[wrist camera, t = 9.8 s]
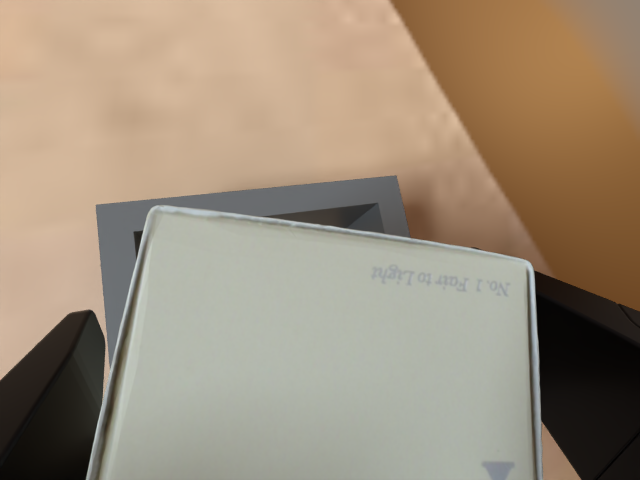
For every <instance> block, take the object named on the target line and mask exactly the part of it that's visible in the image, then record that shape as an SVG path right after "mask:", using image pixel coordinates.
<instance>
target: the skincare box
mask: <svg viewBox="0 0 640 480" xmlns="http://www.w3.org/2000/svg"><path fill="white" fill-rule="evenodd" d="M539 383H540V376H539V346H538V334H537V312H536V294H535V274H534V268H533V266H532V264H531V263H530V262H529V261H528V260H525V259H521V258H517V257H513V256H508V255H503V254H499V253H494V252H487V251H482V250H478V249H473V248H469V247H462V246H456V245H450V244H444V243H439V242H433V241H426V240H420V239H414V238H408V237H402V236H395V235H389V234H383V233H376V232H369V231H360V230H354V229H347V228H339V227H334V226H326V225H320V224H312V223H304V222H296V221H289V220H283V219H277V218H268V217H259V216H251V215H242V214H236V213H227V212H220V211H214V210H207V209H195V208H187V207H176V206H169V205H157V206H154V207H152V208H151V210H150V211H149V213H148V215H147V218H146V222H145V226H144V230H143V234H142V239H141V243H140V248H139V252H138V257H137V261H136V265H135V268H134V272H133V276H132V279H131V284H130V288H129V292H128V297H127V301H126V305H125V309H124V313H123V317H122V321H121V325H120V329H119V334H118V339H117V343H116V348H115V352H114V356H113V360H112V365H111V369H110V373H109V378H108V382H107V387H106V391H105V395H104V399H103V403H102V407H101V411H100V416H99V420H98V424H97V429H96V433H95V438H94V443H93V448H92V453H91V457H90V462H89V467H88V472H87V477H86V480H543V466H542V441H541V438H542V424H541V404H540V384H539Z"/></svg>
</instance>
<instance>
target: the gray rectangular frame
mask: <svg viewBox="0 0 640 480" xmlns="http://www.w3.org/2000/svg"><path fill="white" fill-rule="evenodd" d="M157 205H169V206H176V207H187V208H195V209H207V210H214V211H220V212H227V213H236V214H242V215H251V216H259V217H268V218H277V219H283V220H289V221H296V222H304V223H312V224H320V225H326V226H334V227H339V228H347V229H354V230H360V231H369V232H376V233H383V234H389V235H395V236H402V237H408V238H411V237H410V233H409V228H408V224H407V220H406V215H405V211H404V207H403V202H402V198H401V194H400V189H399V185H398V180H397V176H386V177H376V178H365V179H355V180H345V181H335V182H324V183H314V184H304V185H294V186H283V187H273V188H263V189H253V190H243V191H232V192H222V193H212V194H202V195H191V196H181V197H171V198H161V199H150V200H140V201H130V202H120V203H109V204H99V205H96V214H97V226H98V237H99V249H100V260H101V272H102V283H103V295H104V306H105V318H106V329H107V341H108V352H109V364H110V369H111V365H112V360H113V356H114V352H115V348H116V343H117V339H118V334H119V329H120V325H121V321H122V317H123V313H124V309H125V305H126V301H127V297H128V292H129V288H130V284H131V279H132V276H133V272H134V268H135V265H136V261H137V257H138V252H139V248H140V243H141V239H142V234H143V230H144V226H145V222H146V218H147V215H148V213H149V211H150V210H151V208H152V207H154V206H157Z"/></svg>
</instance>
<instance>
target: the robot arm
mask: <svg viewBox="0 0 640 480" xmlns="http://www.w3.org/2000/svg"><path fill="white" fill-rule="evenodd" d="M471 248H473V249H478V248H475V247H471ZM478 250H481V249H478ZM482 251H483V250H482ZM534 274H535V294H536V312H537V334H538V346H539V376H540V383H539V384H540V404H541V421H542V422H543V424H544V425H545V427H546V428H547V430H548V431H549V433H550V434H551V436H552V437H553V438H554V440H555V441H556V443H557V444H558V446H559V447H560V449H561V450H562V452H563V453H564V455H565V456H566V458H567V459H568V461H569V462H570V464H571V465H572V467H573V468H574V469H575V471H576V472H577V474H578V475H579V477H580V478H581V480H640V312H639V311H637V310H634V309H631V308H629V307H626V306H624V305H621V304H616V303H615V302H613V301H611V300H608V299H606V298H603V297H600V296H597V295H595V294H593V293H590V292H588V291H585V290H583V289H580V288H577V287H575V286H572V285H570V284H567V283H565V282H562V281H560V280H557V279H555V278H552V277H550V276H547V275H544V274H542V273H539V272H537V271H534ZM104 362H105V338H104V335H103V332H102V330H101V327H100V325H99V322H98V320H97V318H96V315H95V313H94V312H93V311H92V310H84V311H77V312H72V313H70V314H68V315H67V316H66V317H65V318H64V319H63V320H62V321H61V322H60V323H59V324H58V325H57V326H55V327H54V328H53V329H52V330H51V331H50V332H49V333H48V334H47V335H46V336H45V337H44V338H43V339H42V340H41V341H40V342H39V343H38V344H37V345H36V346H35V347H34V348H33V349H32V350H31V351H30V352H29V353H28V354H27V355H26V356H25V357H24V358H23V359H22V360H21V361H20V362H19V363H18V364H17V365H15V366H14V367H13V368H12V369H11V370H10V371H9V372H8V373H7V374H6V375H5V376H4V377H3V378H2V379H1V380H0V480H86V477H87V472H88V467H89V462H90V457H91V453H92V448H93V443H94V438H95V433H96V429H97V424H98V420H99V416H100V411H101V407H102V398H103V380H104Z"/></svg>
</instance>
